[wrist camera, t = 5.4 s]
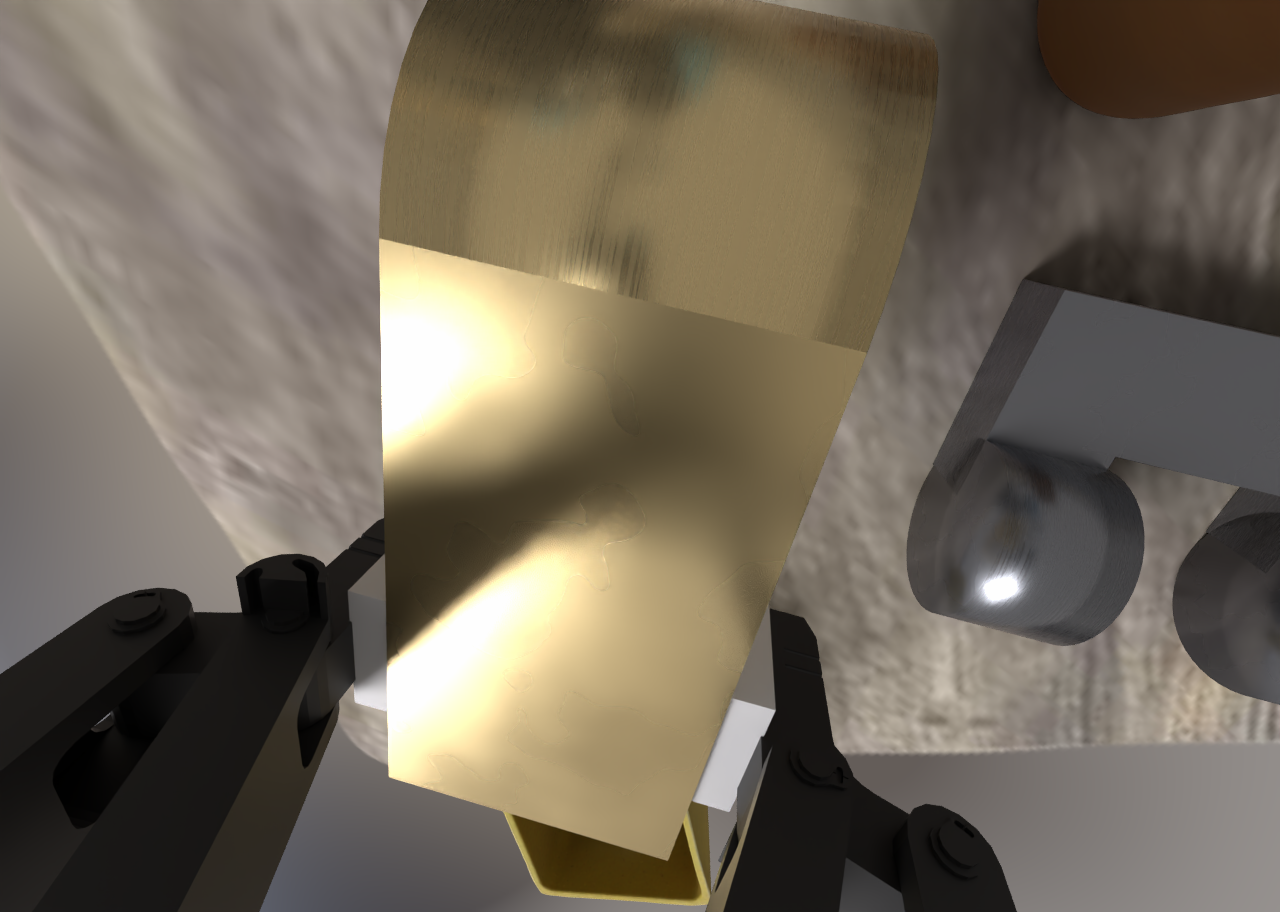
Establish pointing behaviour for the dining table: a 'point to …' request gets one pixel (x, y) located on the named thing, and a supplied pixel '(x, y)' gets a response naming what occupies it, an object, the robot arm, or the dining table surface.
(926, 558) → the hinge base leaf
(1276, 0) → the mug
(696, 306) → the brass curved block
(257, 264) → the dining table surface
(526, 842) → the flower pot
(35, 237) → the dining table surface
